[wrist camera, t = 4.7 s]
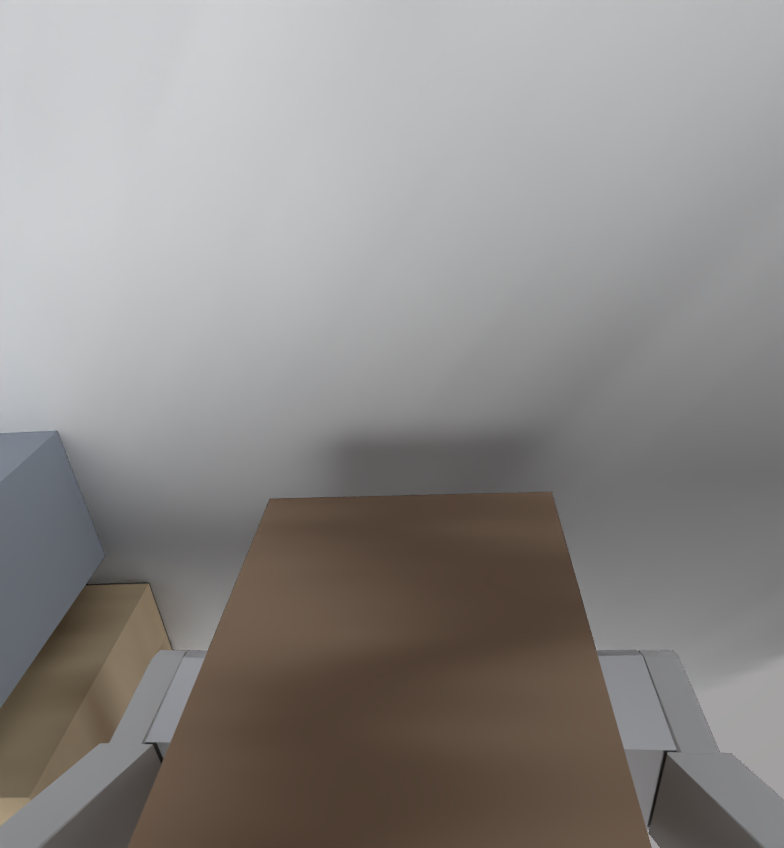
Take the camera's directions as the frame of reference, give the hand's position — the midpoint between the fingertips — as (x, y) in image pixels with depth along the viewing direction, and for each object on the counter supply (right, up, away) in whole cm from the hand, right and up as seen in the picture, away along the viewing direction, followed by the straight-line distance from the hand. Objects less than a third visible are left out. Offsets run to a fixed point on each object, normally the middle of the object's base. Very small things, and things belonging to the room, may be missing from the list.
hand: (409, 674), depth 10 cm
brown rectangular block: (0, +1, +2) cm, 2 cm away
